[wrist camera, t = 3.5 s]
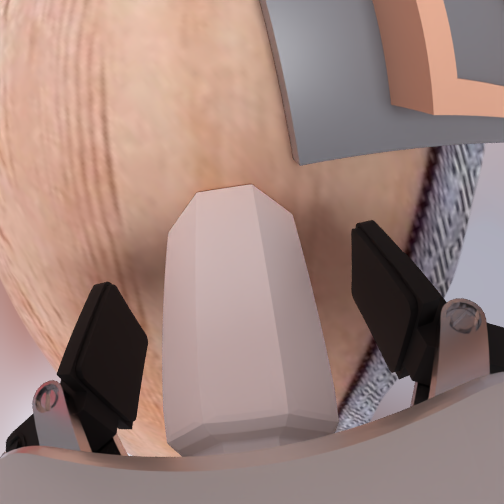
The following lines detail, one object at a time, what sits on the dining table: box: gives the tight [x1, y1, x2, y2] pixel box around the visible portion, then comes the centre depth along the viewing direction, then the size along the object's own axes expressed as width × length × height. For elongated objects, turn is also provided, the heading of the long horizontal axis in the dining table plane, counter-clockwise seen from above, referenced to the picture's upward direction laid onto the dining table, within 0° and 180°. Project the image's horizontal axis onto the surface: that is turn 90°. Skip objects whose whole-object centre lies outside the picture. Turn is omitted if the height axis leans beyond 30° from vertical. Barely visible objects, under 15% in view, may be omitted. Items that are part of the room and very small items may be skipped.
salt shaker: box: [162, 184, 339, 457], centre depth 7 cm, size 5×5×11 cm
